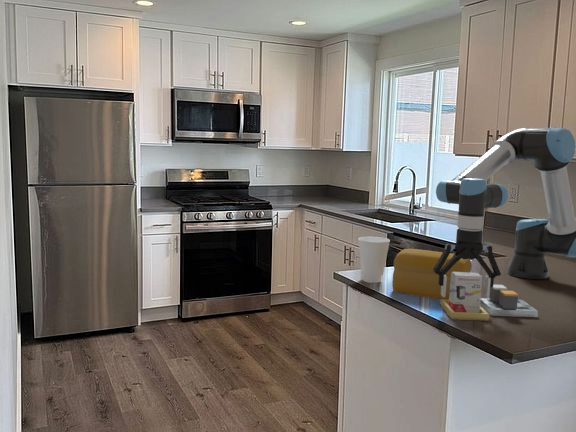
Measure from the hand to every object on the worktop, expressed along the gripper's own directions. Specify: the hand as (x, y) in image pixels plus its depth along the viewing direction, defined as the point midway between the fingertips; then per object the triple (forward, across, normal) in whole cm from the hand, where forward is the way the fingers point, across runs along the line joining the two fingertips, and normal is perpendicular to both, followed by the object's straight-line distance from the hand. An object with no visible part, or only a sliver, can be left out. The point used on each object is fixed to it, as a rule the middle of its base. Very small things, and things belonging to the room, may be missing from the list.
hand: (464, 296), depth 166 cm
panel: (+5, -15, -4) cm, 16 cm away
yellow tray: (+5, 0, 0) cm, 5 cm away
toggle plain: (+3, -13, -7) cm, 15 cm away
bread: (+6, +5, -22) cm, 23 cm away
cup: (+5, +24, -36) cm, 44 cm away
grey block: (+3, -14, -1) cm, 14 cm away
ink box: (+5, 0, 0) cm, 5 cm away
